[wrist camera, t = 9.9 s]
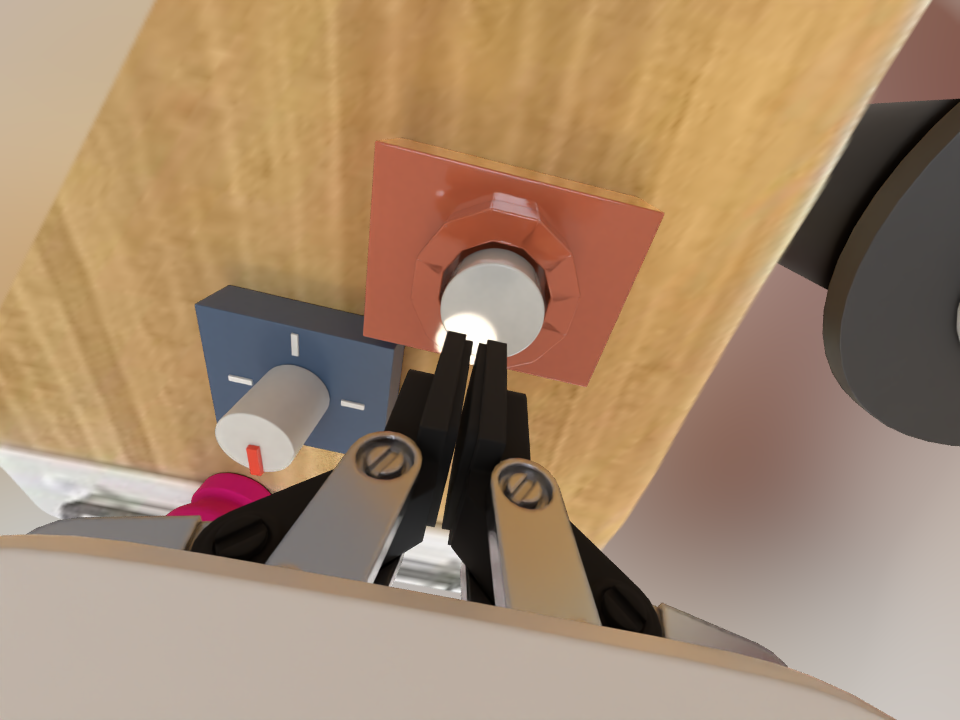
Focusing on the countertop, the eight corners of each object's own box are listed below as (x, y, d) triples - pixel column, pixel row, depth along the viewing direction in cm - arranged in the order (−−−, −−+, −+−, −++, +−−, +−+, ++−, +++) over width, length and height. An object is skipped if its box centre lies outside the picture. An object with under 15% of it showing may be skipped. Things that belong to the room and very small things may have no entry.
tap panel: (407, 325, 24) (393, 351, 21) (393, 432, 29) (380, 464, 26) (228, 284, 24) (191, 305, 21) (244, 399, 28) (215, 428, 26)
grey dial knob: (260, 358, 22) (203, 410, 18) (329, 371, 22) (287, 426, 18) (267, 411, 24) (217, 468, 20) (330, 423, 25) (293, 483, 20)
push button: (554, 260, 16) (559, 277, 14) (527, 345, 18) (528, 369, 16) (457, 236, 15) (449, 251, 14) (441, 325, 17) (432, 347, 16)
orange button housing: (639, 197, 19) (683, 223, 14) (577, 350, 24) (593, 411, 19) (400, 137, 19) (356, 142, 14) (384, 305, 23) (347, 356, 18)
